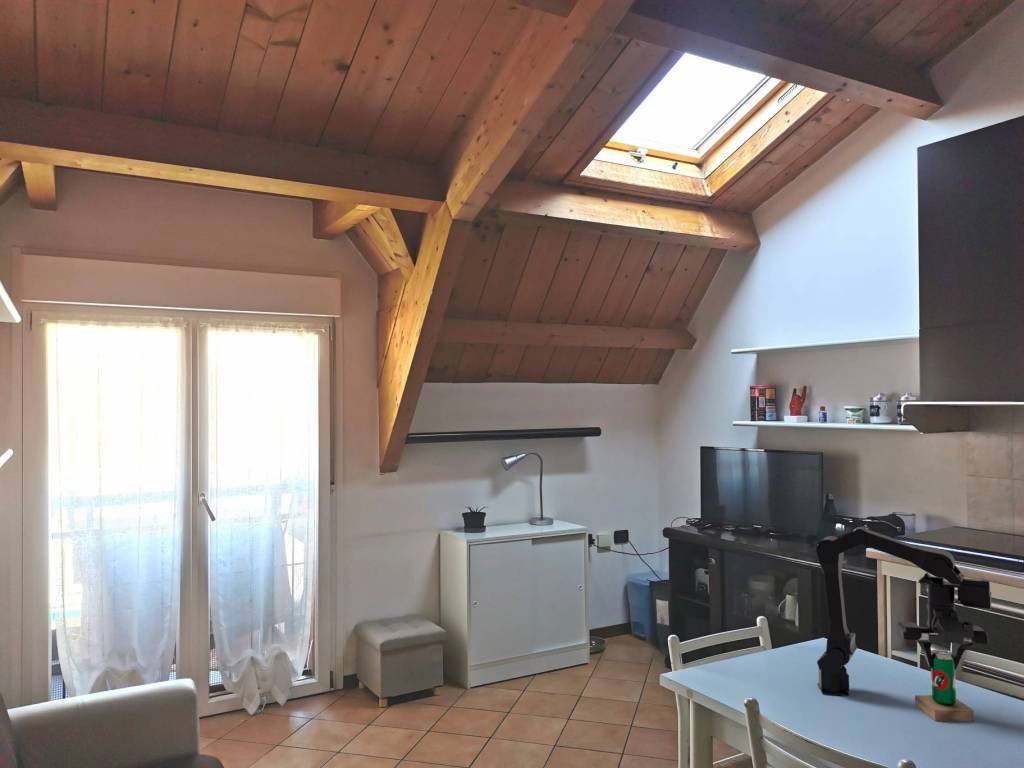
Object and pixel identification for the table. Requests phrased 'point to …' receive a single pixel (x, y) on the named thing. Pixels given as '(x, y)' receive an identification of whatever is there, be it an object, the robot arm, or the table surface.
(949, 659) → the soda can
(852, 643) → the robot arm
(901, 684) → the table surface
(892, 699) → the table surface
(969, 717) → the tan block
